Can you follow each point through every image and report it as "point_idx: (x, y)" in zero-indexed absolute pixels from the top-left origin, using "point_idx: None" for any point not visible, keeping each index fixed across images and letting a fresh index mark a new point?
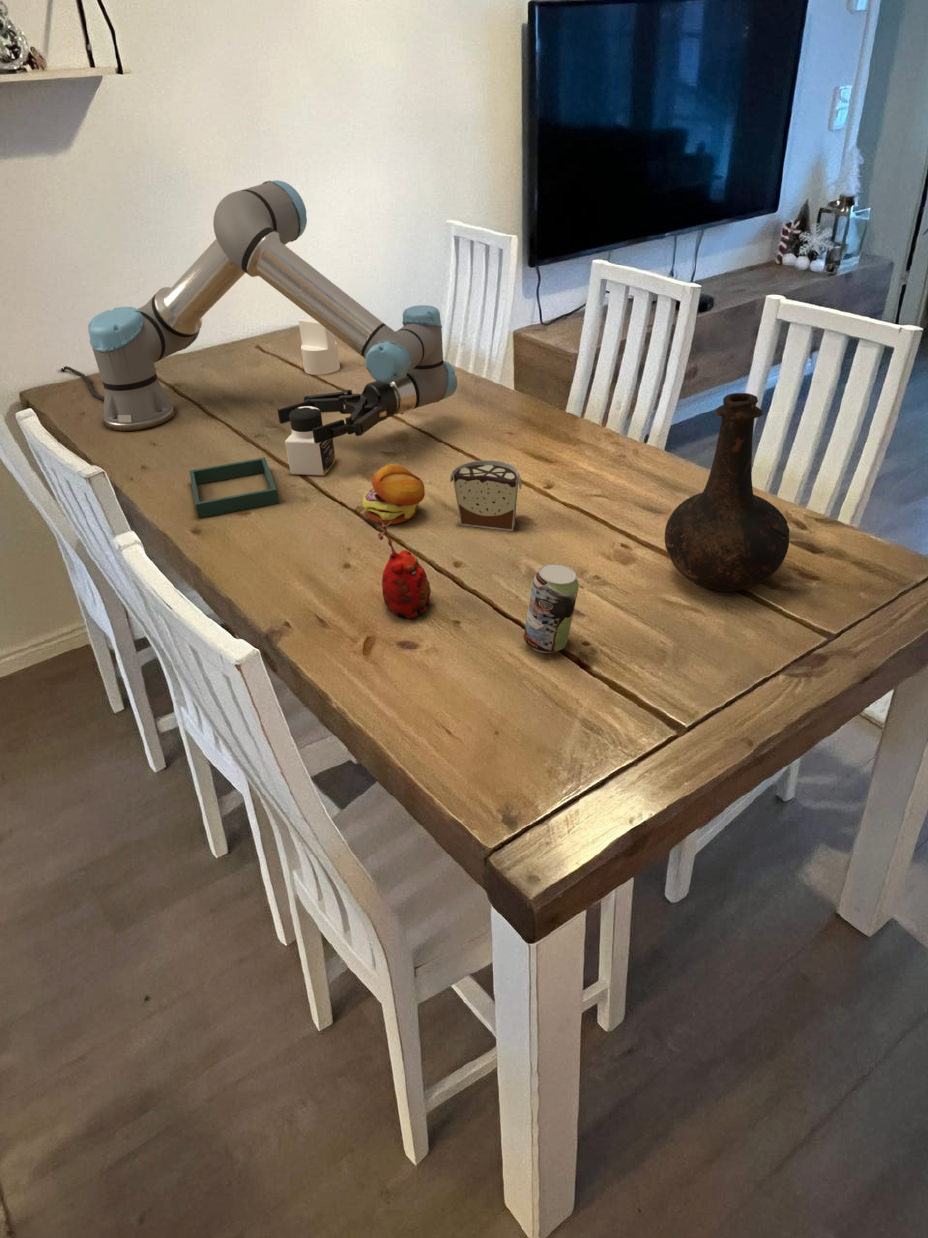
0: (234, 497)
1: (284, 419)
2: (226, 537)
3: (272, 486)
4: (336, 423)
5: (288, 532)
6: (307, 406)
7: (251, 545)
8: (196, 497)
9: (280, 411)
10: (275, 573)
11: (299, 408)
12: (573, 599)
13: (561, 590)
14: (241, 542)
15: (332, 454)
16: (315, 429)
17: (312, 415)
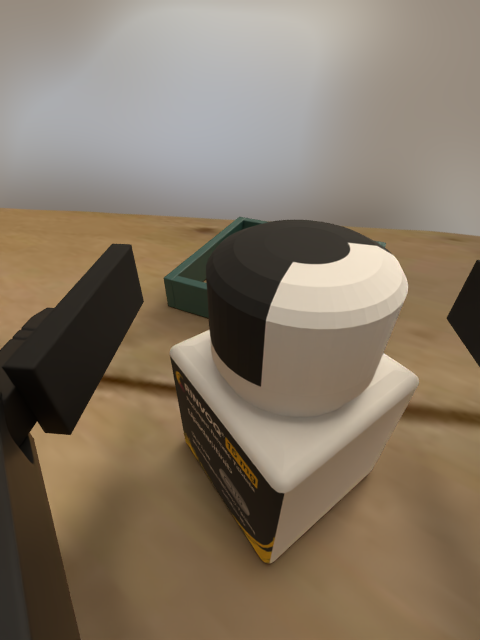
0: (209, 241)
1: (462, 317)
2: (152, 238)
3: (183, 278)
4: (44, 323)
5: (65, 274)
6: (363, 274)
7: (99, 243)
8: (261, 222)
9: (476, 268)
10: (13, 234)
11: (351, 242)
12: None
13: None
14: (120, 241)
15: (244, 516)
16: (110, 247)
17: (215, 254)
